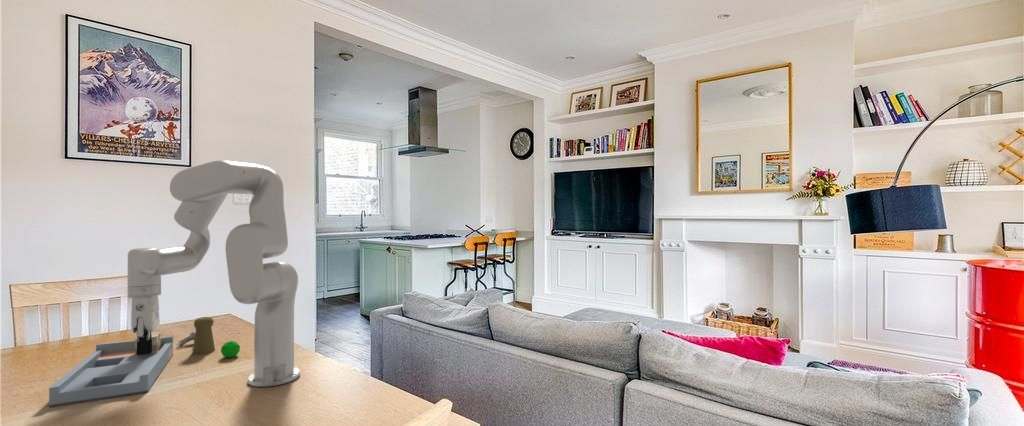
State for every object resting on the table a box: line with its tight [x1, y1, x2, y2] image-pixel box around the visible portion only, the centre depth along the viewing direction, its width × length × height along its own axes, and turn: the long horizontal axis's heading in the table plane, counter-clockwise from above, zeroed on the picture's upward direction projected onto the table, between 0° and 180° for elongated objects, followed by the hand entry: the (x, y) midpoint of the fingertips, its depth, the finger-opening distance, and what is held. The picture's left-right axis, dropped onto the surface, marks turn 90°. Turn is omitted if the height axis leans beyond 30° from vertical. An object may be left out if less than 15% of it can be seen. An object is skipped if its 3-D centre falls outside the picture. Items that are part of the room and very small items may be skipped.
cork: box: [192, 316, 216, 355], centre depth 143 cm, size 6×6×11 cm
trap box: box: [48, 335, 174, 408], centre depth 121 cm, size 32×18×6 cm, turn 28°
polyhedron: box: [220, 340, 241, 359], centre depth 138 cm, size 5×5×5 cm
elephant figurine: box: [177, 327, 196, 347], centre depth 151 cm, size 10×6×9 cm
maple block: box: [135, 331, 162, 356], centre depth 133 cm, size 5×5×5 cm
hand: (144, 353), depth 129 cm, fingers closed
